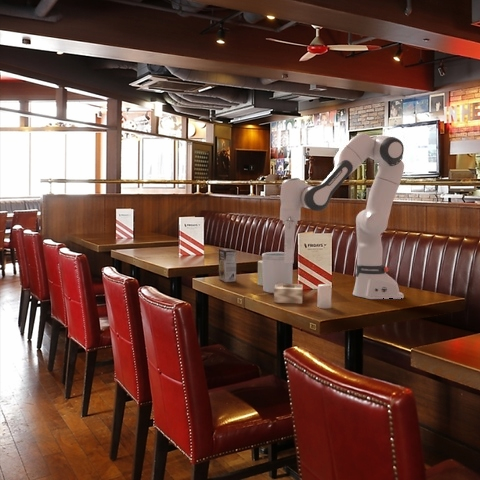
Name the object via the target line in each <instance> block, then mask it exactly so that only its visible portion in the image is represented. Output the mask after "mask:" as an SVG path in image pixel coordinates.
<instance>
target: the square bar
mask: <svg viewBox="0 0 480 480" xmlns="http://www.w3.org/2000/svg"><path fill="white" fill-rule="evenodd" d="M283 248H284V250H283V251H284V263H293V264H294V261H295V237H294V238H293V240H292V245H291V249H287V240H286V239H285V238H284V247H283Z"/></svg>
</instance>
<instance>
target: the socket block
mask: <svg viewBox="0 0 480 480" xmlns="http://www.w3.org/2000/svg"><path fill="white" fill-rule="evenodd" d="M303 287H304V286H303V284H302V283H292V284H279V283H276V284H275V287H274V293H273V303H280V304H281V303H284V304H303V289H304V288H303Z"/></svg>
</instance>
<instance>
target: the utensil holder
mask: <svg viewBox="0 0 480 480" xmlns="http://www.w3.org/2000/svg"><path fill="white" fill-rule="evenodd" d="M261 258H262V259H261V260H262V264H263V286H262V289H263V290H262V291H263V292H264V293H265V292H266V293H269V294H274V287H275V284H276V283H279V284H293V273H294V272H293V271H294V270H293V266H294V265H293V264H294V263H284V252H283V251H270V252H269V251H267V252H263V253H262V254H261Z"/></svg>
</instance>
